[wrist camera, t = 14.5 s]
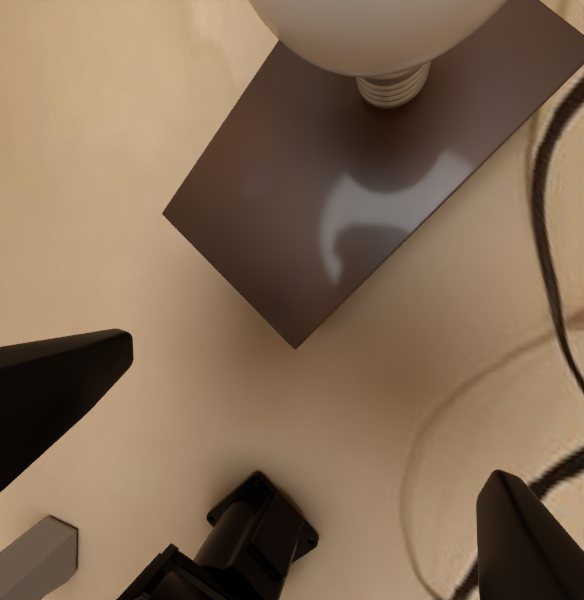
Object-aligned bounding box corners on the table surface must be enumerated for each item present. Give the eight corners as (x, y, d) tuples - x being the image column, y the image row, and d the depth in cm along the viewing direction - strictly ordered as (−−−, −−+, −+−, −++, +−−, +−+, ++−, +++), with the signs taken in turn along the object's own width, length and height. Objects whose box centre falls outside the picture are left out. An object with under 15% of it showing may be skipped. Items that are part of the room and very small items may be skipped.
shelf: (316, 327, 21) (294, 350, 16) (211, 221, 22) (161, 213, 17) (538, 107, 16) (601, 46, 11) (387, -16, 17) (386, -121, 12)
